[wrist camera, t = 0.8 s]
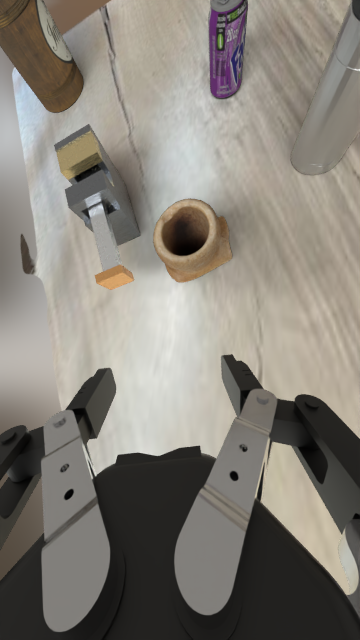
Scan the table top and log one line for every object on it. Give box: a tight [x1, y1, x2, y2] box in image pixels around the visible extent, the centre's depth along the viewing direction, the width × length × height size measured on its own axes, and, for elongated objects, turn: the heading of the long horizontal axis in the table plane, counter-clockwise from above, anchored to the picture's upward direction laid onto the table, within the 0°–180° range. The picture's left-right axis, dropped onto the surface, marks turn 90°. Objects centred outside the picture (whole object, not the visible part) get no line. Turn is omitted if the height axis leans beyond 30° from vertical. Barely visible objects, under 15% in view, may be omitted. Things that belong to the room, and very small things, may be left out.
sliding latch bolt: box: [88, 200, 134, 290], centre depth 32 cm, size 18×5×4 cm, turn 18°
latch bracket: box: [54, 124, 140, 246], centre depth 38 cm, size 16×8×13 cm, turn 18°
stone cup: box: [153, 199, 232, 282], centre depth 31 cm, size 15×12×15 cm
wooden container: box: [0, 0, 83, 112], centre depth 43 cm, size 15×15×22 cm
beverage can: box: [208, 0, 248, 98], centre depth 36 cm, size 7×7×12 cm
